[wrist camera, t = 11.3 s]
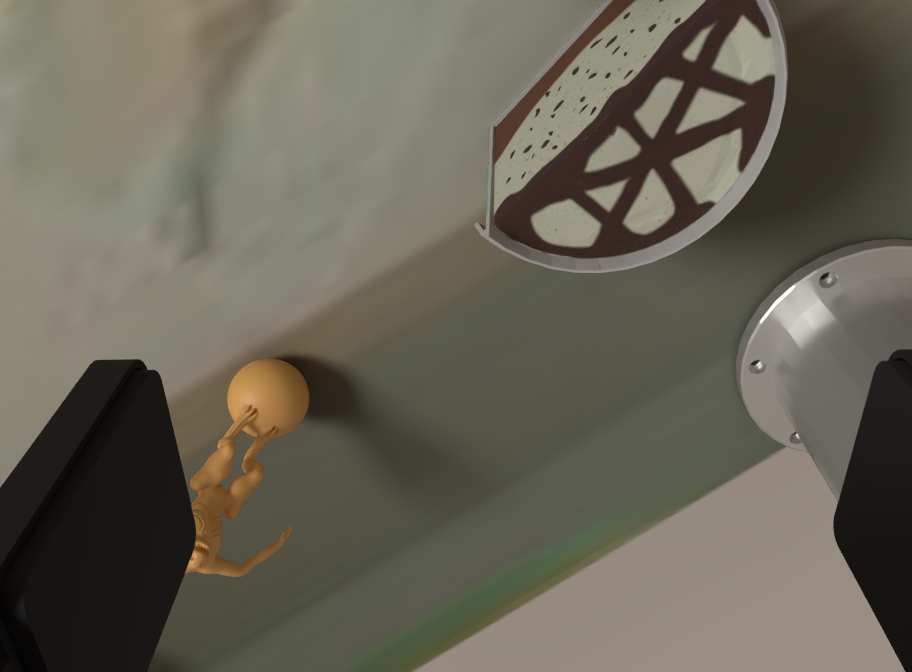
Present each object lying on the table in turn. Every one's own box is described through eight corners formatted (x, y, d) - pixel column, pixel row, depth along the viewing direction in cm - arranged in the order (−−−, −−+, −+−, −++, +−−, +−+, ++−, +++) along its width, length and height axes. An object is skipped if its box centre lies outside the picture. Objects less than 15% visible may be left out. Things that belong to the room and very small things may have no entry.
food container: (563, 234, 39) (598, 347, 31) (466, 151, 37) (476, 249, 29) (773, 30, 35) (884, 97, 26) (678, -78, 33) (764, -44, 24)
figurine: (356, 408, 44) (332, 582, 34) (272, 461, 46) (226, 642, 36) (247, 299, 41) (184, 458, 31) (161, 361, 43) (74, 531, 32)
